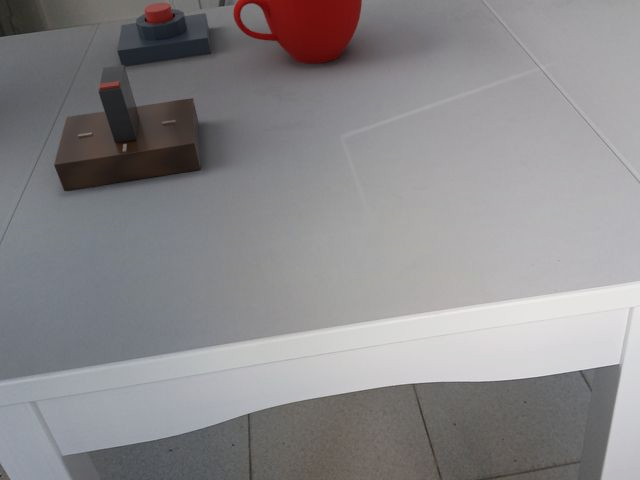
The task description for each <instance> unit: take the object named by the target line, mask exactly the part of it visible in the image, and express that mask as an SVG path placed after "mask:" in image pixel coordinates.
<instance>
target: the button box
mask: <svg viewBox="0 0 640 480" xmlns="http://www.w3.org/2000/svg"><path fill="white" fill-rule="evenodd" d="M171 9H172V13H173V17H174V18H173V19H171V20H169V21H166V22H161V23H147V19H146V16H145V13H144V14H141V15H140V16H138V17H137V18H136V19H135V22H133V23H126V24H121V27H120V33H119V38H118V44H117V50H116V52H117V55H118V58H119V61H120V65H124V66H125V67H131V66H137V65H144V64H151V63H158V62H166V61H172V60H179V59H185V58H186V59H187V58H192V57H199V56H206V55H211V54H212V51H211V38H210V28H209V23H208V18H207V17H208V16H207V13H205V12H203V13H197V14H190V15H189V14H188V15H185V12H184V11H182V10H180V9H177V8H176V9H175V8H171Z"/></svg>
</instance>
